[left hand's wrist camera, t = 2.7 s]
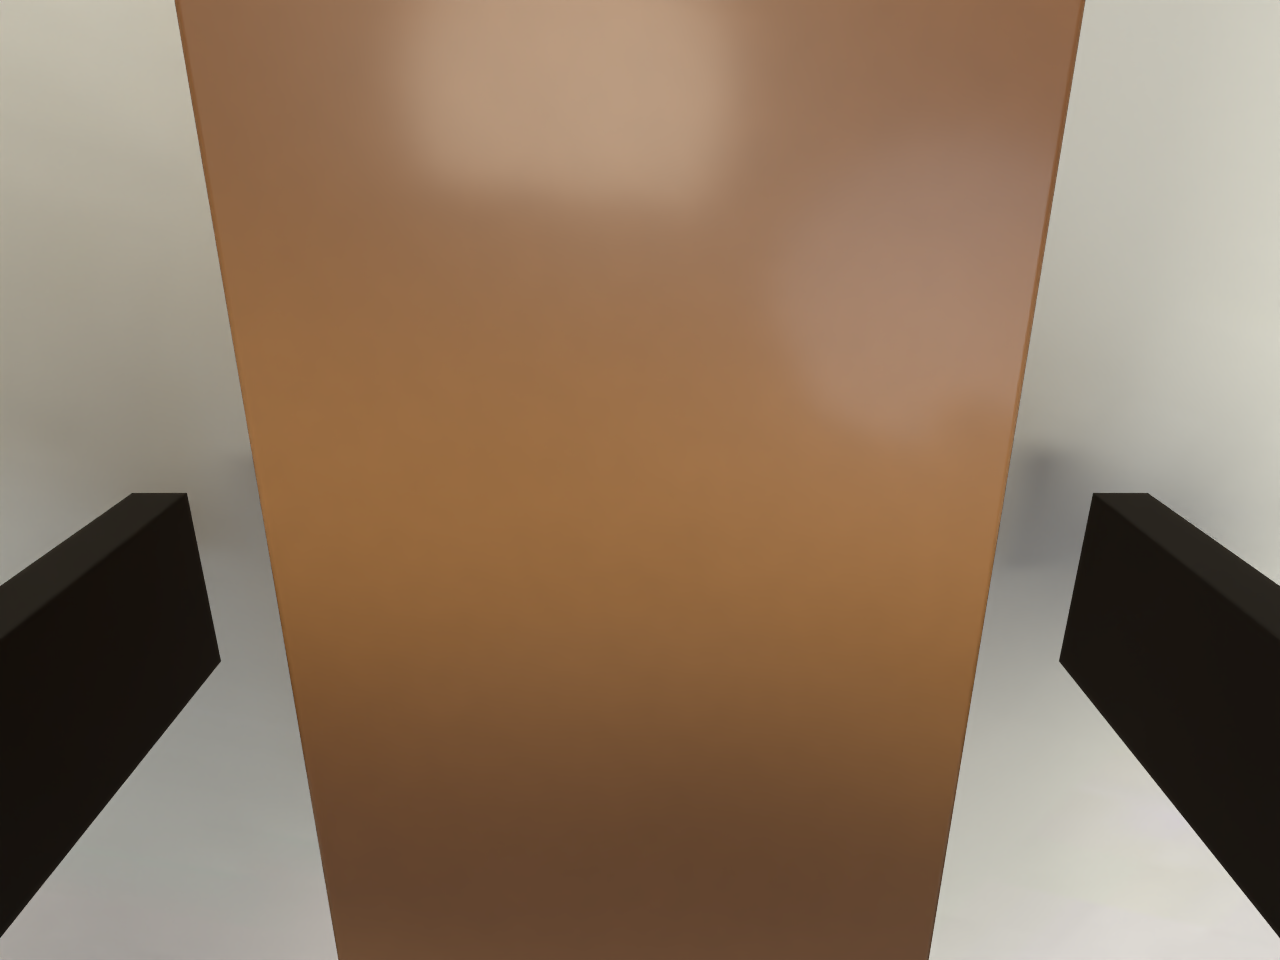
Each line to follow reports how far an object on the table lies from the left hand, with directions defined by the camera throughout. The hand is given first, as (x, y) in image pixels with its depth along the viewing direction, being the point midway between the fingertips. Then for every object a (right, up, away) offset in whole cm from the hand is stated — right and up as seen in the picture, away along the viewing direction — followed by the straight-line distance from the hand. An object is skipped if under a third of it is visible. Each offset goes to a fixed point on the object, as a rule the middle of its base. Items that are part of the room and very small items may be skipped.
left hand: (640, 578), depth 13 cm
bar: (0, +32, -10) cm, 33 cm away
